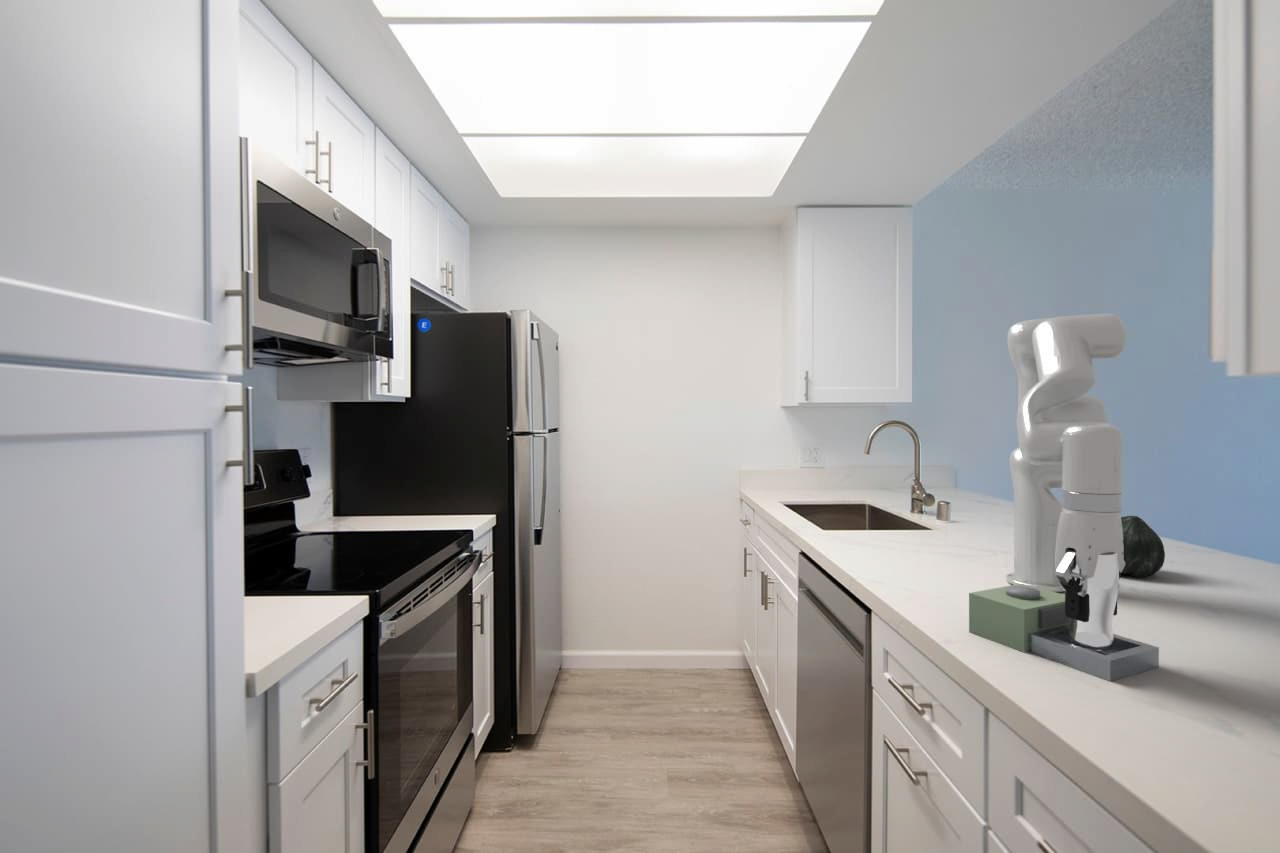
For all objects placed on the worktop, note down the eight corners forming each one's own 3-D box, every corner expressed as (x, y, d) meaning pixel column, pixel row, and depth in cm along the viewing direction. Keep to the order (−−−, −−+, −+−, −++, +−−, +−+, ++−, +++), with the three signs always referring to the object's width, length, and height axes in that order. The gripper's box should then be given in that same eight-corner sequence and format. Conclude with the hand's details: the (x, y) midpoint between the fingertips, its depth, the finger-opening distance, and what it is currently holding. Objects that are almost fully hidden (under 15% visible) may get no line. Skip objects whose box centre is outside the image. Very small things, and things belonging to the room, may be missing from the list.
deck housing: (1022, 620, 111) (1022, 578, 111) (1082, 640, 102) (1082, 593, 101) (969, 631, 106) (969, 587, 106) (1027, 653, 96) (1027, 604, 96)
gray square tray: (1075, 639, 102) (1075, 622, 102) (1158, 666, 91) (1158, 647, 91) (1028, 651, 97) (1028, 633, 97) (1110, 681, 86) (1110, 660, 86)
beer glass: (1068, 632, 99) (1068, 543, 99) (1122, 643, 94) (1122, 549, 94) (1059, 644, 94) (1059, 550, 94) (1115, 656, 89) (1115, 557, 89)
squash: (1075, 540, 155) (1089, 502, 146) (1147, 546, 149) (1166, 508, 140) (1085, 586, 146) (1100, 550, 136) (1162, 595, 140) (1184, 558, 130)
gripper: (1099, 496, 100) (1099, 601, 101) (1031, 503, 94) (1030, 616, 94) (1152, 502, 93) (1151, 615, 94) (1082, 510, 87) (1081, 632, 87)
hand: (1091, 615), depth 94 cm, fingers closed on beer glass, 6 cm apart
